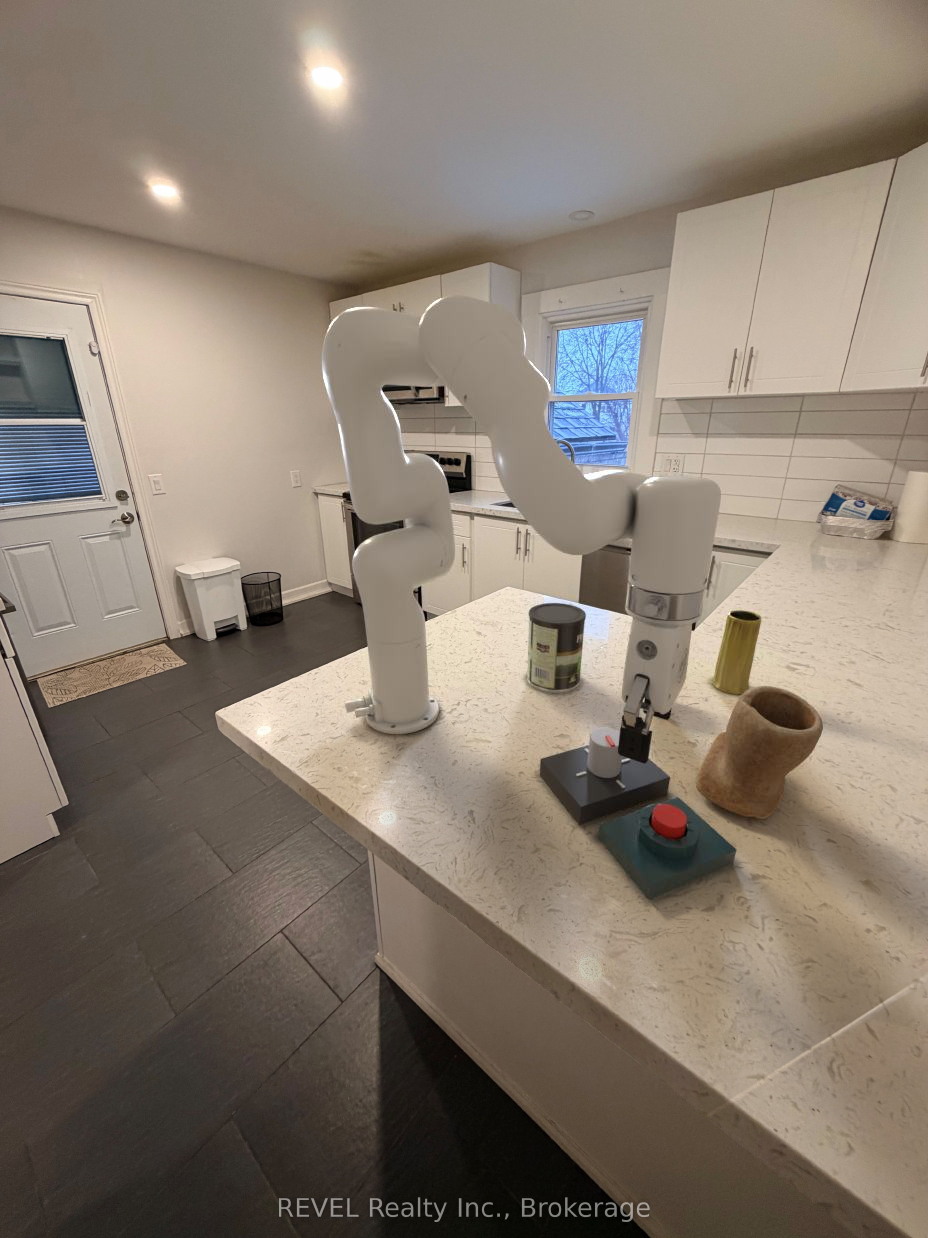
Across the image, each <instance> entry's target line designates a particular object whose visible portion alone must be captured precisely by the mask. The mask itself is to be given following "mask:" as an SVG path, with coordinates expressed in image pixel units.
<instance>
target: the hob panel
mask: <svg viewBox="0 0 928 1238" xmlns="http://www.w3.org/2000/svg"><path fill="white" fill-rule="evenodd" d="M588 750H589V744H587V745H584V746H581V747H576V748H574V749H569V750H566V751H562V752H560V753H555V754H552V755H549V756H545V757H542V758H540V760H539V777H540V778H541V779H542V781H543V782H544V783H545V784H546V786H547V787H548V788H549V789H550V791H551V792H552V793H553V794H554V796H555V797H556V798H557V799H558V800H559V802H560V804H562V806H563V807H564V808H565V809H566V811H567V812H568V813H569V814H570V815H571V817H572V819H574V821H575V822H576V823H577V824H578V826H580V825H583V824H587V823H589V822H592V821H595V820H598V819H602V818H604V817H606V816H610V815H613V814H615V813H618V812H622V811H624V810H627V809H630V808H632V807H635V806H638V805H642V804H644V803H647V802H650V801H653V800H656V799H658V798H662V797H664V796H667V795H668V794H669V788H670V781H671V776H670V775H668V773H666V772H665V771H664V770H663V769H662V768H660V766H658V765H657V764H656V763H655V762H653V761H652V760H651V759H650V758H648V761H647V763H641V762H638V761H635V760H632V759H629V758H626V757H623V756H622V762H621V770H620V773H619V774H618V775H617V776H615V777H612V778H603V777H599V776H596V775H594V774H593V773H592V772H590V770H589V769H588V767H587V761H588Z"/></svg>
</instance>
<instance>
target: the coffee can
mask: <svg viewBox="0 0 928 1238" xmlns="http://www.w3.org/2000/svg"><path fill="white" fill-rule="evenodd" d="M586 618H587V613H586V612H585V610H583V609H582V608H580V607H578V606H576V605H573V604H568V603H561V602H549V603H546V602H545V603H541V604H537V605H534V606H532V607H530V609H528V644H527V646H528V647H527V674H526V681H527V683H528V684H529V685H530V686H531V687H532V688H534V689H536V690H538V691H541V692H545V693H550V694H551V693H552V694H563V693H569V692H571V691H574V690H576V689H577V688H578V687H579V686H580V684H581V670H582V659H583V658H582V656H583V648H584V647H583V645H584V633H585V631H584V630H585V621H586Z"/></svg>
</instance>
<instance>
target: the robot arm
mask: <svg viewBox="0 0 928 1238" xmlns="http://www.w3.org/2000/svg"><path fill="white" fill-rule="evenodd" d="M526 340H527V339H526V334H525V330H524V328H523V326H522V324H521V321H520V320H519V319H518V317H517V315H515V314H514V312H512V311H511V310H510V309H508V308H506V307H504V306H503V305H500V304H496V303H493V302H488V301H485V300H482V299H480V298H479V299H478V298H475V297H471V296H469V295H463V294H461V295H460V294H452V295H446V296H444V297H440V298H438V299H437V300H435V301H434V302H432V303H431V304H430V305H428V307H427V308H426V310H425V311H424V312H423V313H422V316H420V315H416V314H411V313H406V312H402V311H397V310H393V309H388V308H383V307H374V306H359V307H352V308H349V309H346V310H344V311H342V312H340V313H339V314H338V315H337V316H336V317H335V318H334V319H333V321H332V322H331V323H330V325H329V326H328V328H327V331H326V333H325V336H324V338H323V344H322V349H321V371H322V378H323V382H324V387H325V389H326V393H327V397H328V399H329V402H330V405H331V407H332V411H333V413H334V418H335V421H336V423H337V429H338V432H339V438H340V445H341V450H342V456H343V463H344V468H345V474H346V479H347V484H348V490H349V495H350V500H351V504H352V507H353V510H354V512H355V514H356V516H357V518H359V520H361V521H362V522H363V523H366V524H369V525H383V524H390V523H394V522H399V521H402V520H404V522H405V527H403V528H396V529H393V530H389V531H386V532H382V533H378V534H374V535H373V536H370V537H368V538H367V539H365V540H363V541H362V542H361V543H360V544H359V545H358V546H357V548H356V549H355V551H354V553H353V556H352V560H351V562H352V563H351V566H352V568H351V569H352V573H353V577H354V581H355V583H356V587H357V590H358V593H359V597H360V601H361V605H362V611H363V618H364V619H363V620H364V626H365V636H366V645H367V652H368V662H369V671H370V680H371V681H370V682H371V688H368V689H367V691H368V693H367V694H366V695H364V696H362V698H358V699H351V700H347V701H344V707H345V711H346V714H348V713H353V712H354V714H355V715H354V716H355V718H356V719H357V718H360V717H361V718H362V717H365V721H366V723H367V725H369V726H370V728H372V729H373V730H375V731H378V732H381V733H384V734H390V735H405V734H411V733H415V732H418V731H421V730H424V729H425V728H427V727H429V726H430V725H431V724H432V723H435V721H436V720H437V718H438V717H439V712H440V707H439V706H440V705H439V702H438V700H437V699H436V698H435V697H434V696H433V695H431V694H430V687H429V668H428V648H427V647H428V646H427V629H426V618H425V613H424V611H423V608H422V606H421V605H420V603H419V602H418V600H417V599H416V597H415V594H414V591H415V590H416V589H417V588H420V587H422V586H424V585H426V584H429V583H432V582H435V581H436V580H439V579H441V578H443V577H444V576H446V575H447V574H448V573H449V572H450V571H451V569H452V568H453V565H454V561H455V558H456V543H455V541H456V540H455V534H454V524H453V515H452V506H451V497H450V489H449V485H448V480H447V477H446V475H445V472H444V471H443V469H442V467H441V466H440V464H439V463H438V462H437V461H436V460H435V459H434V458H433V457H431V456H429V455H427V454H425V453H420V452H409V453H405V450H404V445H403V439H402V430H401V429H402V428H401V423H400V421H399V417H398V415H397V413H396V411H395V409H394V407H393V405H392V403H391V402H390V400H389V398H387V396H386V395H385V393H384V392H383V388H384V386H387V385H388V386H399V387H400V386H401V387H402V386H403V387H405V386H406V387H421V388H422V387H423V388H431V387H432V388H434V387H446V388H447V389H448V390H449V392H450V393H451V394H452V395H453V396H454V397H455V399H456V400H457V401H458V403H460V404H461V406H462V407H463V408H464V409H465V411H466V412H467V413H468V414H469V416H470V417H471V418H472V419H473V420H474V422H475V423H476V424H477V425H478V426H479V427H480V428H481V430H482V431H483V432H484V434H485V435H486V436H487V437H488V439H489V441H490V446H491V447H490V448H491V454H492V460H493V463H494V467H495V470H496V472H497V477H498V479H499V482H500V484H501V485H500V486H501V487H502V489H503V491H504V493H505V494H506V496H507V498H508V500H510V502H511V503H512V504H513V506H514V507H515V508H516V510H517V511H518V512H519V513H520V515H521V516H522V517H523V518H524V520H525V521H526V522H527V523H528V525H530V527H532V529H533V530H534V531H535V532H536V533H537V535H538V536H539V537H540V538H541V539H543V541H544V542H545V543H547V544H548V545H549V546H551V547H552V548H553V549H555V550H557V551H559V552H561V553H562V554H566V555H570V556H585V555H589V554H593V553H594V552H596V551H598V550H601V549H602V548H604V547H606V546H608V545H609V544H611V543H615V542H619V541H622V540H626V539H631V549H630V558H629V568H628V578H627V587H626V596H625V605H624V611H625V612H626V614H627V615H629V616H630V617H632V619H631V625H630V630H629V634H628V642H627V647H626V648H627V649H626V654H625V661H624V668H623V675H622V686H621V700H622V701H623V702H624V706H623V714H622V716H621V720H620V729H619V732H620V736H619V745H618V754H619V755H621V756H623V757H626V758H629V759H632V760H635V761H638V762H641V763H647V761H648V758H649V757H650V750H651V744H652V738H653V737H652V735H653V730H651V725H652V722H653V718H658V719H662V720H665V721H668V720H670V719H671V715H672V710H673V706H674V705H675V702H676V700H677V699H678V696H679V695H680V693H681V691H682V689H683V687H684V685H685V682H686V679H687V673H688V664H689V655H690V648H691V639H692V630H693V624H694V623H695V624H696V623H697V622H699V621H700V620H701V618H702V612H703V607H704V601H705V596H706V589H707V584H708V578H709V571H710V565H711V559H712V553H713V549H714V548H713V547H714V541H715V536H716V531H717V530H716V529H717V524H718V518H719V513H720V507H721V500H722V492H721V491H722V490H721V488H720V486H719V484H718V483H717V482H716V481H715V480H713V479H709V478H705V477H700V476H692V475H690V476H689V475H666V476H665V475H664V476H652V475H646V474H641V473H636V472H632V471H626V470H621V469H608V470H603V471H598V472H592V473H588V474H584V472H582V471H581V470H580V469H579V468H578V466H577V465H576V464H575V463H574V462H573V461H572V459H570V457H569V456H568V455H567V454H566V453H565V452H564V450H563V449H562V447H561V446H560V445H559V444H558V443H557V440H555V438H554V436H553V434H552V433H551V430H550V429H549V427H548V424H547V421H546V418H545V411H546V409H547V408H548V405H549V403H550V400H551V395H552V394H551V385H550V383H549V382H548V380H547V378H545V377H544V376H543V374H542V373H541V372H540V371H539V370H538V369H537V368H536V366H534V364H533V362H531V361H530V360H529V359H528V358H527V357H526V355H525V353H526V343H527V341H526ZM641 710H642V712H643V713H644V714H645V717H644V718H643V717H641V716H640V715H641V714H640V713H641ZM649 759H650V758H649Z"/></svg>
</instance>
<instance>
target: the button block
mask: <svg viewBox="0 0 928 1238" xmlns="http://www.w3.org/2000/svg"><path fill="white" fill-rule="evenodd" d="M660 804H668V805H672V806H675V807H677V808H679V809H680V810H681V811H682V812H683V813H684V814H685V815H686V818H687V823H686V828H685V833H684V835H683V836H682V837H681V838H679V839H668V838H665V837H663V836H661V835H659V834H657V833H656V832H655V831H654V829H653V828H652V825H651V820H652V814H653V809H654V808H655V807H656V806H657V805H660ZM597 838H598V839H599V841H600V842H601V843H602V844H603V846H604V847H605V848H606V849H607V851H608V852H609V853H610V854H611V855H612V857H613V858H614V859H615V860H616V862H617V863H618V864H619V865H620V867H622V869H623V870H624V872H625V873H626V874H627V875H628V876H629V878H630V879H631V880H632V881H633V882H634V884H635V885H636V886H637V888H638V889H639V890H640V891H641V892H642V893H643V895H644V896H645V897H646V899H648V900H651V899H653V898H655V897H658V896H661V895H663V894H665V893H668V892H670V891H672V890H675V889H677V888H679V887H681V886H684V885H686V884H688V883H691V882H693V881H696V880H698V879H700V878H703V877H705V876H707V875H710V874H713V873H714V872H717V871H719V870H721V869H724V868H726V867H729V866H731V865H733V864H734V861H735V857H736V854H737V848H736V847H734V845H733V844H731V843H730V842H729V841H728V840H727V839H725V837H724V836H722V835H721V834H720V833H719V832H718V831H717V830H715V828H714V827H713V826H711V825H710V824H709V823H708V822H706V821H705V819H703V818H702V817H701V816H700V815H699V814H698V813H697V812H695V811H694V810H693V809H692V808H691V807H690V806H689V805H688V804H687V803H685V802H684V800H682V799H681V798H680V797H679V796H676V797H673V798H671V799H667V800H665V801H662V802H659V803H652V804H649V805H646V806H644V807H642V808H641V809H639V810H636V811H633V812H630V813H627V814H624V815H622V816H619V817H616V818H613V819H611V820H608V821H604V822H602V823H599V825H598V834H597Z"/></svg>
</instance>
